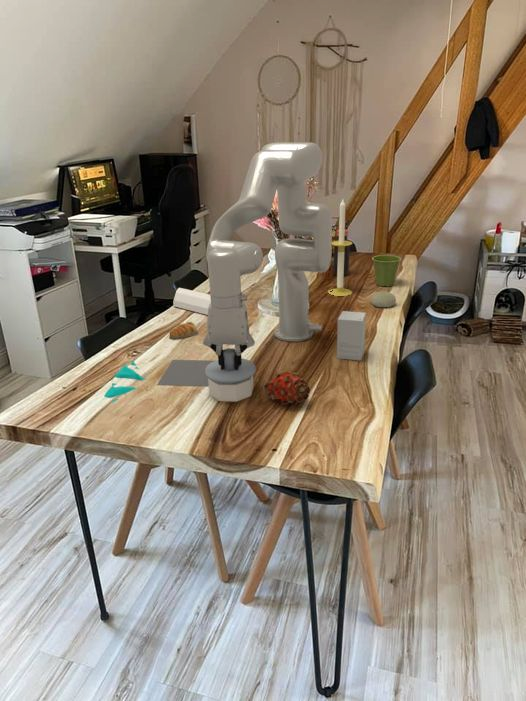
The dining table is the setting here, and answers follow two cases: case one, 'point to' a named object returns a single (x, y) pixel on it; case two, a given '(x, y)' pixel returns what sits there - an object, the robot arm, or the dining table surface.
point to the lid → (230, 369)
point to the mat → (186, 373)
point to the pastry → (184, 330)
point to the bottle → (346, 255)
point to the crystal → (192, 300)
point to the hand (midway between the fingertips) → (230, 366)
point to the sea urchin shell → (383, 299)
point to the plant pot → (385, 269)
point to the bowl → (231, 390)
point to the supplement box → (351, 335)
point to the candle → (341, 255)
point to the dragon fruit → (288, 388)
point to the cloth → (117, 391)
